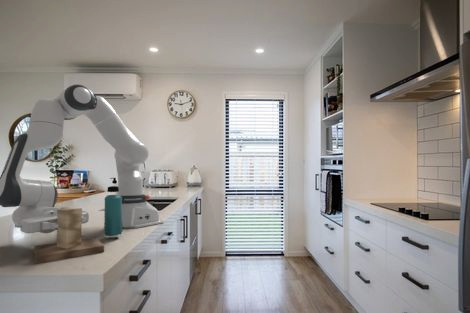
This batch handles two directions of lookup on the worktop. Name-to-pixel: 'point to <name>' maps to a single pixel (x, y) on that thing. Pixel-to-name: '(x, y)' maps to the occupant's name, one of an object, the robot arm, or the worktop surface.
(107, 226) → the beverage bottle
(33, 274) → the worktop surface
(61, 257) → the walnut board
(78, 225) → the oak block
